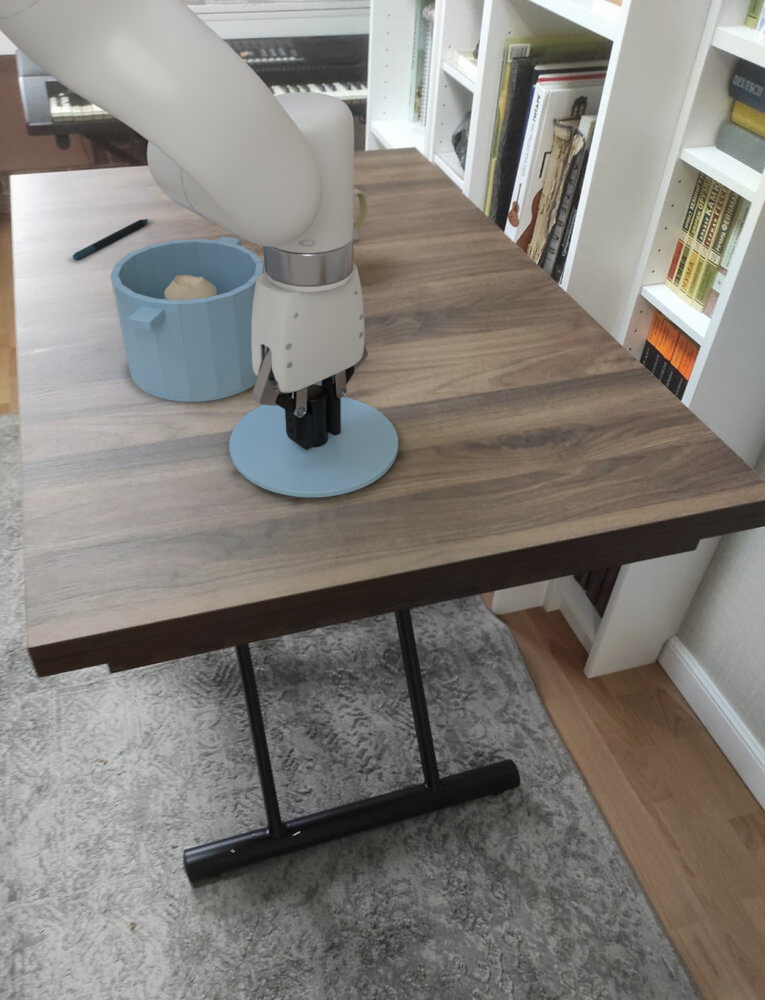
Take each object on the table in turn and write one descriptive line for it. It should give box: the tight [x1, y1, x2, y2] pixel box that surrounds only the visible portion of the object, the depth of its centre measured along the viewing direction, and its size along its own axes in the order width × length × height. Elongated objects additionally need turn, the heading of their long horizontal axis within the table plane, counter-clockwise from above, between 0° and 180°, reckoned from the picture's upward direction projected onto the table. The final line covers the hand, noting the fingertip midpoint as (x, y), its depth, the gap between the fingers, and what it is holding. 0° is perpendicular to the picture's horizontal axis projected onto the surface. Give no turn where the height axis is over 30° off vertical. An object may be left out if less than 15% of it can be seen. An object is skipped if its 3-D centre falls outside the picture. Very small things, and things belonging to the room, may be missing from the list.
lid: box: [228, 383, 399, 498], centre depth 81 cm, size 17×17×7 cm
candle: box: [164, 275, 217, 300], centre depth 91 cm, size 6×6×10 cm
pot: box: [110, 236, 265, 403], centre depth 91 cm, size 16×21×12 cm
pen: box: [72, 218, 149, 261], centre depth 120 cm, size 1×16×1 cm, turn 153°
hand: (314, 434), depth 82 cm, fingers closed on lid, 2 cm apart
